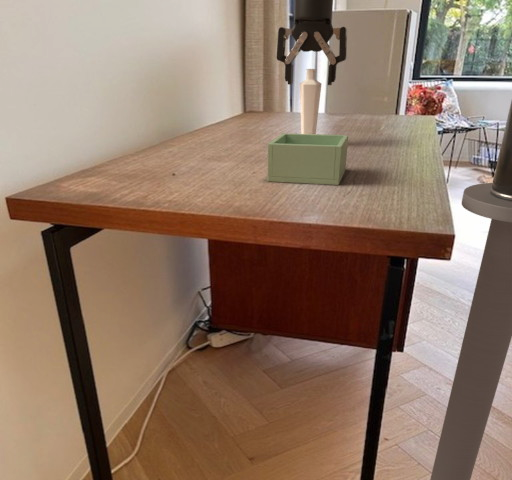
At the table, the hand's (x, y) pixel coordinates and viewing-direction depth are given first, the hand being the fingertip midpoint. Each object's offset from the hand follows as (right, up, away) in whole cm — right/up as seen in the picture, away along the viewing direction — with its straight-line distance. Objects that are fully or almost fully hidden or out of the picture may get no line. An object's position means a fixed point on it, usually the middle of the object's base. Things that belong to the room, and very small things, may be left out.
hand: (309, 84), depth 106 cm
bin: (-3, -26, -21) cm, 34 cm away
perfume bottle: (0, -11, +6) cm, 12 cm away
